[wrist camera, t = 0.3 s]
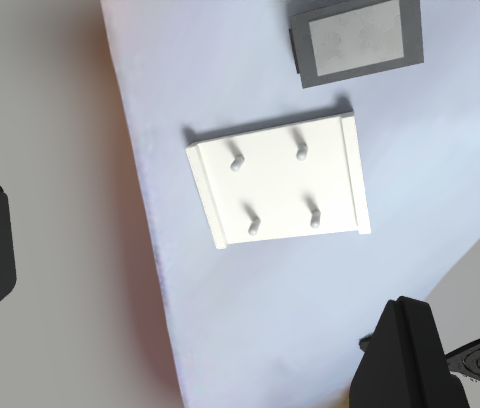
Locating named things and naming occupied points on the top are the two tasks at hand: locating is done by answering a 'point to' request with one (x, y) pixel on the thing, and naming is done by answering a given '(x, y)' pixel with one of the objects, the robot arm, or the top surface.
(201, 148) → the tray
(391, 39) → the block
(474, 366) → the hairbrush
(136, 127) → the top surface
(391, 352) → the robot arm
